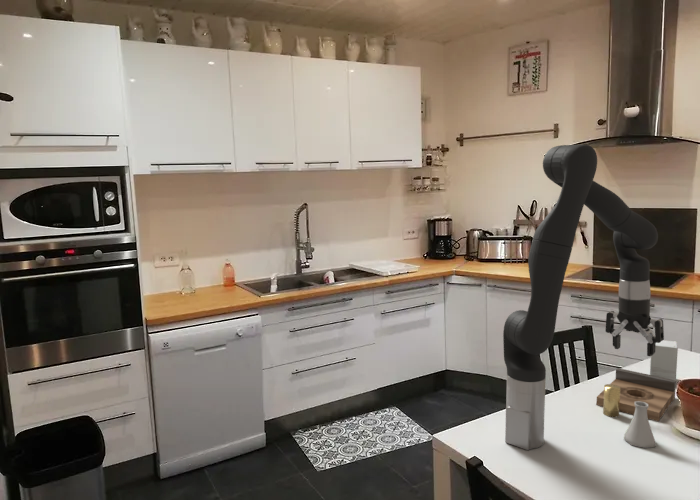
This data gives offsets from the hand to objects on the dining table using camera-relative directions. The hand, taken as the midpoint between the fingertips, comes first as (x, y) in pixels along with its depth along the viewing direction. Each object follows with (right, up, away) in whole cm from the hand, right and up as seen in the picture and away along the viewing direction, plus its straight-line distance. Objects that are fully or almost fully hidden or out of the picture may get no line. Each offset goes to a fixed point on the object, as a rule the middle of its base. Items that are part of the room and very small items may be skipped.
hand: (633, 351), depth 141 cm
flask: (-6, -20, -13) cm, 25 cm away
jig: (+6, -17, +10) cm, 21 cm away
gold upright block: (-5, -18, +2) cm, 19 cm away
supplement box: (+24, -15, +25) cm, 38 cm away
